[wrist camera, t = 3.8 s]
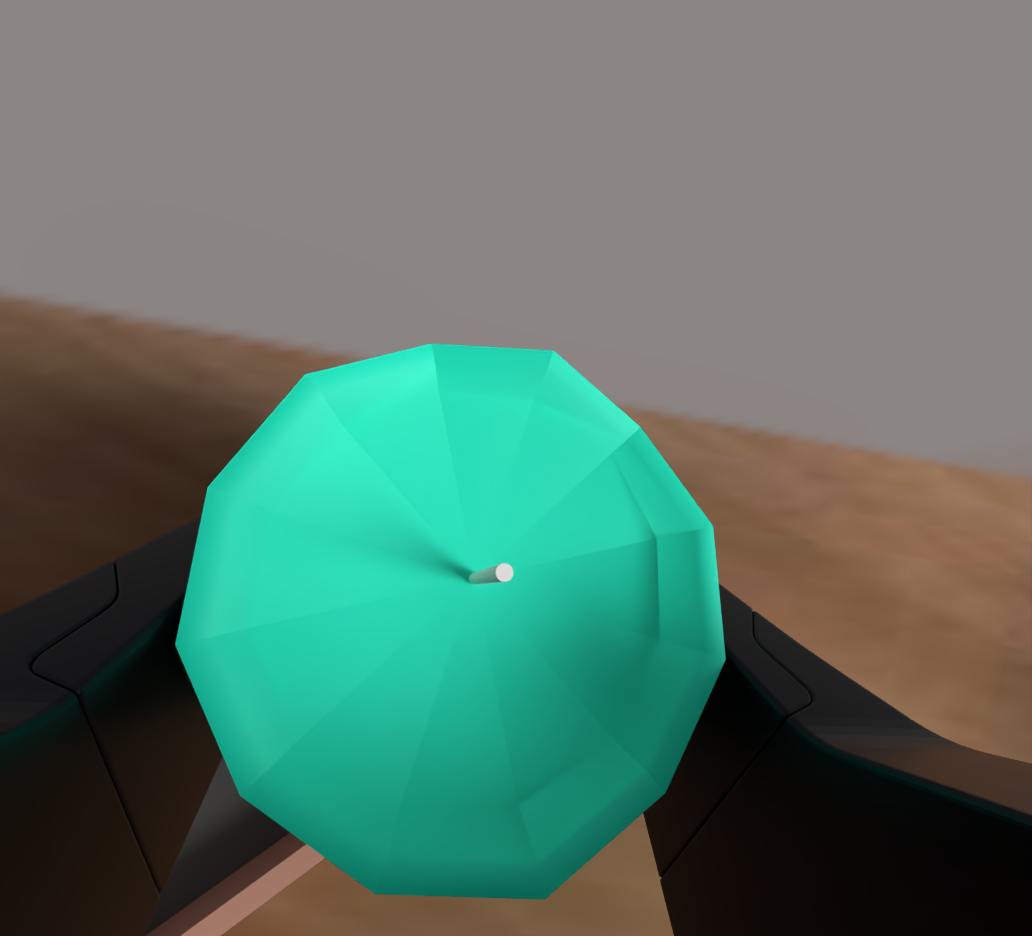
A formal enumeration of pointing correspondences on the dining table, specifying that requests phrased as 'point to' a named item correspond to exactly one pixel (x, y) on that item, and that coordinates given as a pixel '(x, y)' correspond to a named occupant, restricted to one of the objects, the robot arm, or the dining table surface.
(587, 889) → the dining table surface
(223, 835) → the tray
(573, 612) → the candle
